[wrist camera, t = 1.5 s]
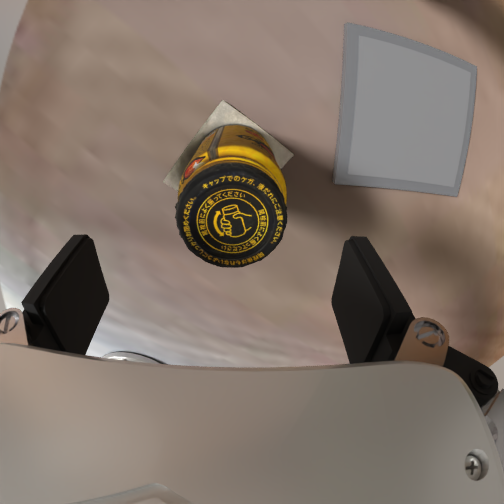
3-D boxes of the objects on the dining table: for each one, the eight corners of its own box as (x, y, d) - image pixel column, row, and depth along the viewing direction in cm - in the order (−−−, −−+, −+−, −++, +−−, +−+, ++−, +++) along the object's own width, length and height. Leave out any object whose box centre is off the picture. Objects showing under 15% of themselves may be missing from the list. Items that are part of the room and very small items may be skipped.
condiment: (293, 153, 24) (335, 213, 13) (231, 226, 27) (226, 322, 17) (222, 99, 21) (204, 112, 11) (163, 180, 24) (112, 256, 14)
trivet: (452, 193, 25) (458, 197, 25) (332, 181, 25) (335, 184, 24) (471, 66, 18) (477, 66, 17) (344, 24, 17) (347, 22, 17)
